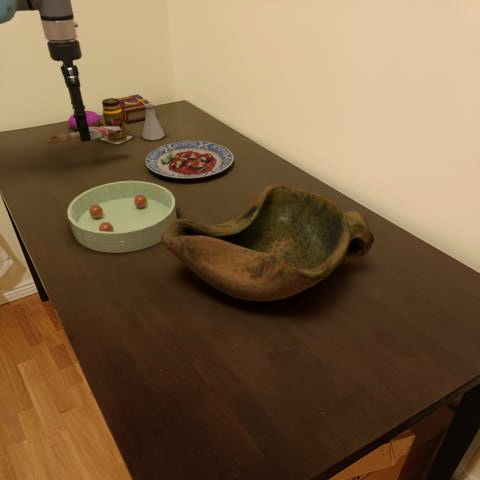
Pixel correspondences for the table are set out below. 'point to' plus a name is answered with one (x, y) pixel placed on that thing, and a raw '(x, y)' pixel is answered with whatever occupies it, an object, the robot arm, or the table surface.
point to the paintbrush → (94, 133)
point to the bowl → (271, 244)
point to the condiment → (114, 121)
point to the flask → (152, 124)
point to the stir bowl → (122, 216)
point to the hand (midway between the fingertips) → (85, 137)
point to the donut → (91, 117)
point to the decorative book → (133, 108)
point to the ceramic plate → (189, 159)
